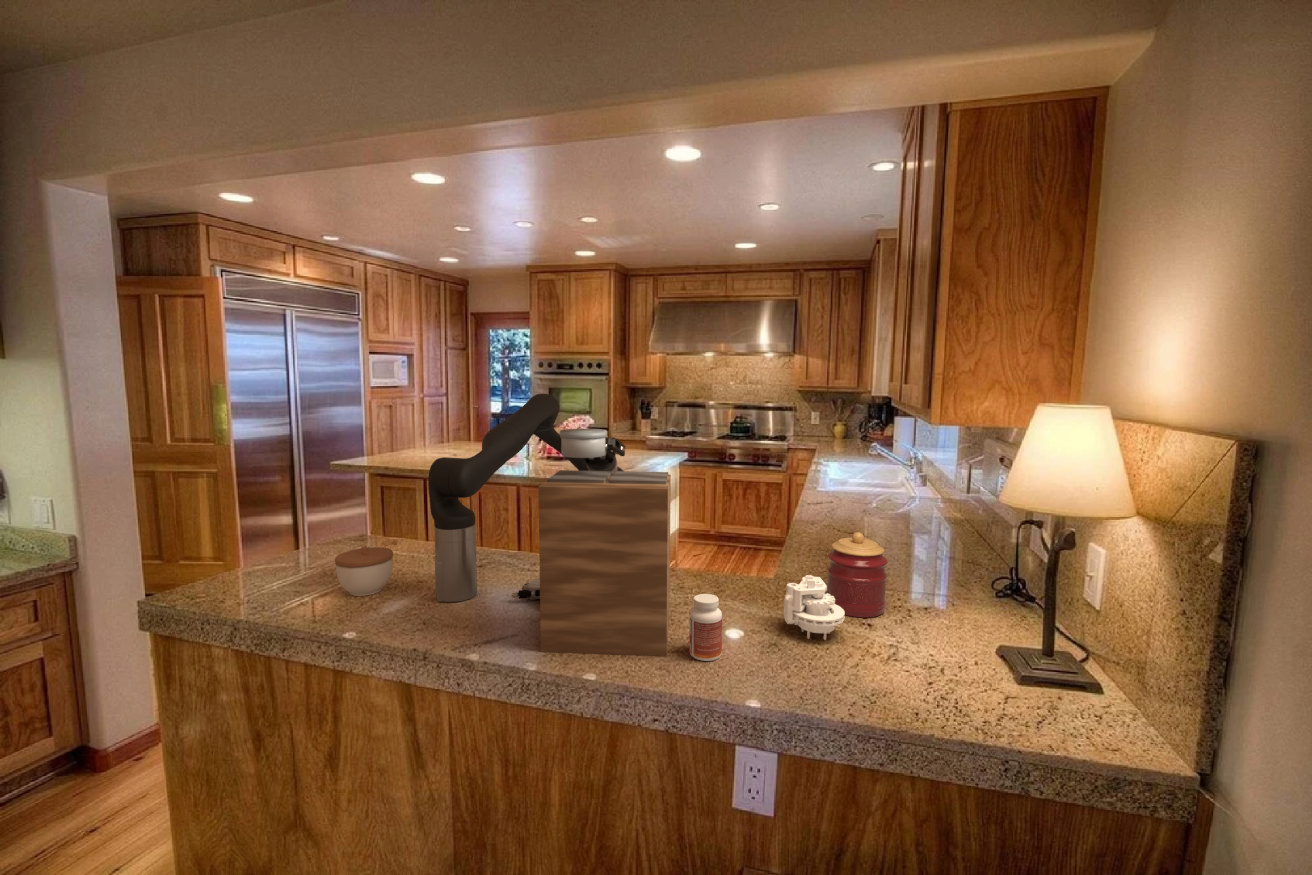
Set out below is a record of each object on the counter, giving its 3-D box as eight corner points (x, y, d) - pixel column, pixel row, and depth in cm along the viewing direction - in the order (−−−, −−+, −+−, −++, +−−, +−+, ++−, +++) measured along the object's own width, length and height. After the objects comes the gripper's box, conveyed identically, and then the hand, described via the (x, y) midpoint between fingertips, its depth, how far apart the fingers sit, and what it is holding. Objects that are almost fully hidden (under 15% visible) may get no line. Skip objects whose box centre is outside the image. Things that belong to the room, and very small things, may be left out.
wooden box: (666, 656, 108) (667, 485, 104) (540, 651, 109) (538, 483, 106) (669, 620, 123) (670, 471, 120) (559, 617, 125) (558, 469, 122)
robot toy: (508, 608, 132) (565, 613, 127) (507, 589, 132) (564, 593, 126) (537, 590, 143) (590, 594, 138) (536, 572, 143) (589, 575, 138)
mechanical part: (837, 651, 110) (839, 591, 109) (776, 637, 116) (778, 580, 115) (848, 629, 120) (851, 574, 119) (792, 617, 126) (794, 565, 125)
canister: (836, 592, 141) (838, 522, 139) (891, 604, 133) (895, 531, 131) (817, 609, 130) (820, 534, 128) (876, 623, 123) (880, 543, 121)
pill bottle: (728, 656, 108) (729, 599, 107) (703, 665, 104) (704, 607, 103) (707, 643, 113) (708, 589, 112) (682, 652, 109) (683, 596, 108)
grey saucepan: (603, 458, 113) (603, 433, 112) (555, 457, 114) (555, 432, 113) (617, 444, 136) (617, 423, 135) (577, 444, 136) (576, 423, 136)
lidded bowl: (365, 603, 132) (363, 557, 131) (324, 596, 136) (321, 551, 135) (405, 585, 144) (404, 542, 142) (366, 579, 148) (364, 537, 146)
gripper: (575, 448, 146) (562, 418, 130) (630, 448, 145) (624, 419, 129) (572, 475, 143) (559, 449, 127) (628, 476, 142) (622, 449, 126)
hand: (591, 434), depth 128 cm, fingers closed on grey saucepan, 3 cm apart
